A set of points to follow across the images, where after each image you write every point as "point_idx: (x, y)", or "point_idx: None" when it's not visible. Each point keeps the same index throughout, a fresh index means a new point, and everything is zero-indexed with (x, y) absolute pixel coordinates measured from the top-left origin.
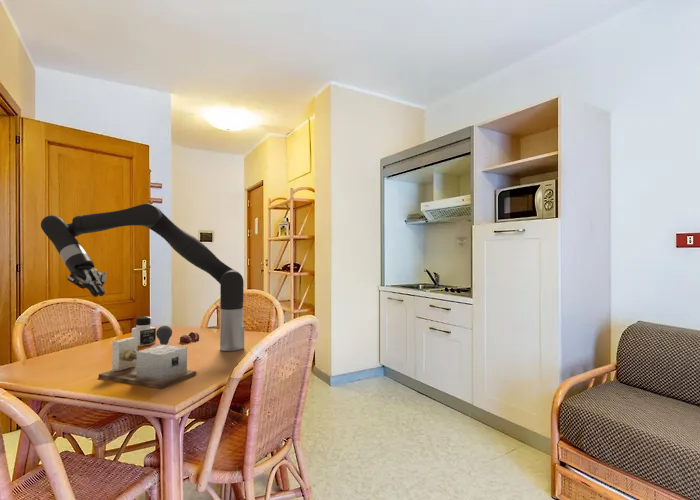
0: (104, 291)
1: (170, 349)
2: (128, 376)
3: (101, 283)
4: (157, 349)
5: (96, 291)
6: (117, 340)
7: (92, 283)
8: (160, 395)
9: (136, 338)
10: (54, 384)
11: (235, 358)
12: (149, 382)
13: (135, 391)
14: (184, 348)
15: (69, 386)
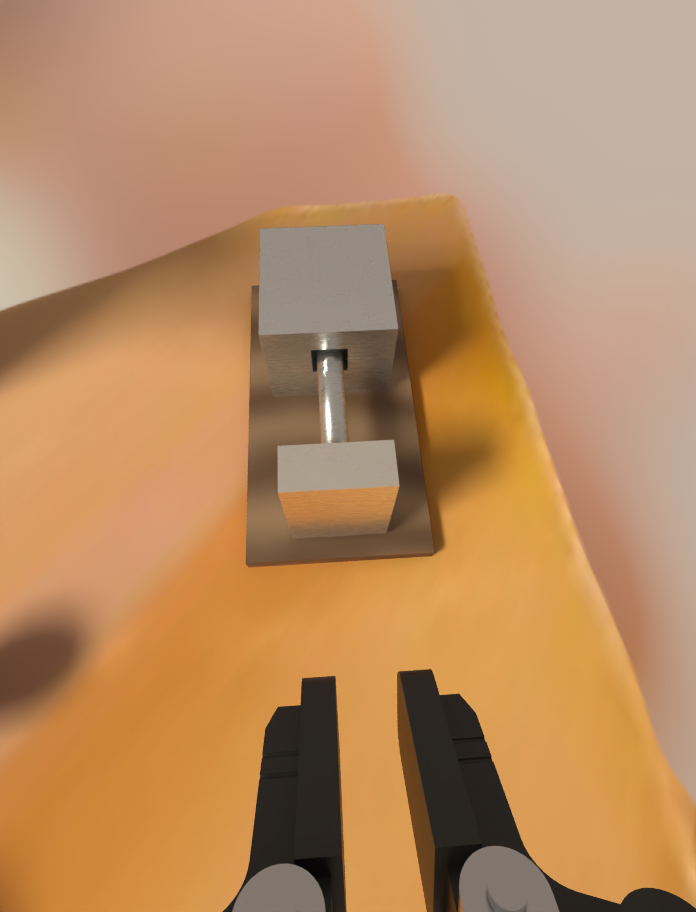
0: (304, 685)
1: (310, 254)
2: (393, 424)
3: (239, 901)
4: (333, 291)
5: (437, 698)
6: (371, 482)
7: (492, 881)
8: (429, 259)
9: (285, 446)
10: (569, 641)
11: (37, 305)
12: (399, 321)
13: (445, 331)
14: (273, 229)
15: (543, 558)
